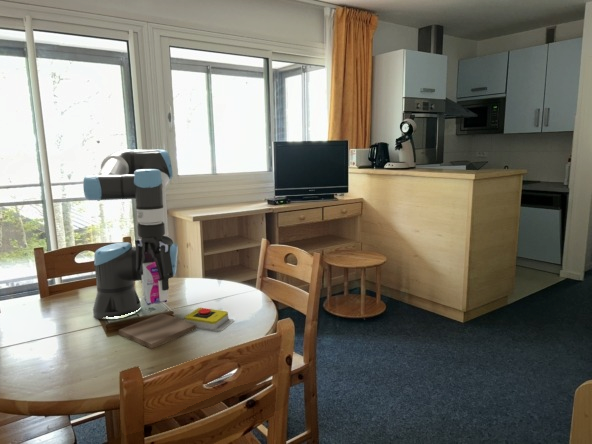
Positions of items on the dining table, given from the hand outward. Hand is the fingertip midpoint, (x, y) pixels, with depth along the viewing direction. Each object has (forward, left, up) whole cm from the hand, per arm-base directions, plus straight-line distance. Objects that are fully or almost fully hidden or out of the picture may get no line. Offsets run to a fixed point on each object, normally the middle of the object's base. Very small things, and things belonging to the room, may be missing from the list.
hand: (155, 297), depth 130 cm
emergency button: (+7, +14, -12) cm, 20 cm away
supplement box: (0, 0, -1) cm, 1 cm away
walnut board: (0, 0, -11) cm, 11 cm away
